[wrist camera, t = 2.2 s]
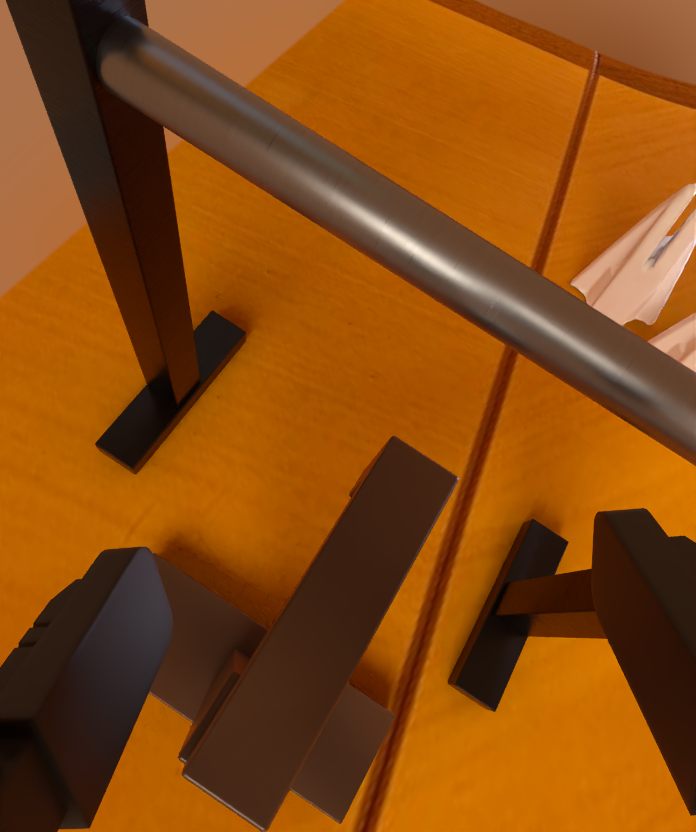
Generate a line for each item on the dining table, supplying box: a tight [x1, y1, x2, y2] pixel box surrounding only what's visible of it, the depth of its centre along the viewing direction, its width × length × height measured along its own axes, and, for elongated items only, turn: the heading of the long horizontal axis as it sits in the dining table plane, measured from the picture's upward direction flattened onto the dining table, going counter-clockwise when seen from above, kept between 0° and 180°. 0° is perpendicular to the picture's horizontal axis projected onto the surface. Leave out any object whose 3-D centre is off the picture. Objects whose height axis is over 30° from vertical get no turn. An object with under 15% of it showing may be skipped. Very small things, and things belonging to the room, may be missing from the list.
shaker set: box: [570, 184, 696, 372], centre depth 34 cm, size 12×4×11 cm, turn 24°
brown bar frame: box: [149, 436, 458, 832], centre depth 21 cm, size 10×14×18 cm
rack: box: [6, 0, 696, 712], centre depth 21 cm, size 24×10×23 cm, turn 58°
